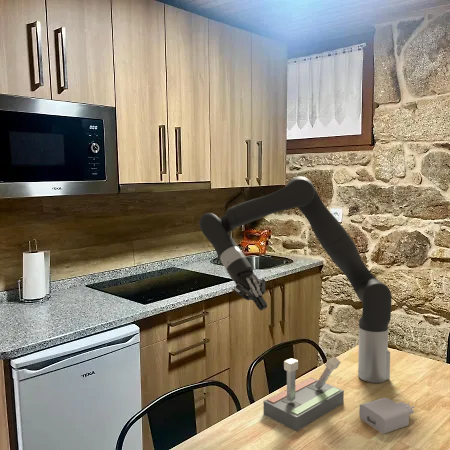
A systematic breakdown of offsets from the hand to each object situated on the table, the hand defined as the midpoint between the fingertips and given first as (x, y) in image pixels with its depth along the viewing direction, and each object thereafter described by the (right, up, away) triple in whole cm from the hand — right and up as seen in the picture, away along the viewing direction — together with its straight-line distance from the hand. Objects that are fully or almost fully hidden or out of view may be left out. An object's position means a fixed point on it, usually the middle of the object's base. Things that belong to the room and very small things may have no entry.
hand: (264, 308), depth 134 cm
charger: (+34, -29, -12) cm, 46 cm away
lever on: (+16, -24, -2) cm, 29 cm away
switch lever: (+7, -25, -10) cm, 27 cm away
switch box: (+11, -28, -5) cm, 31 cm away
